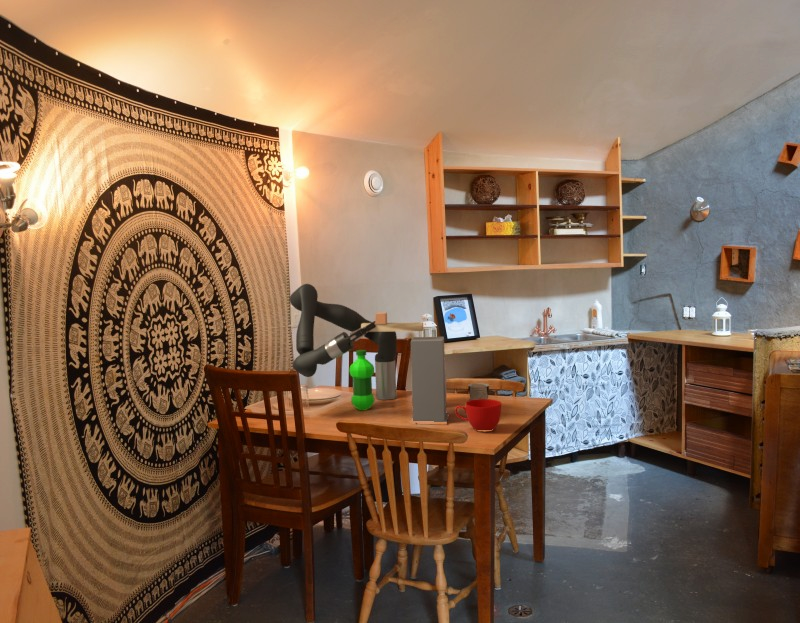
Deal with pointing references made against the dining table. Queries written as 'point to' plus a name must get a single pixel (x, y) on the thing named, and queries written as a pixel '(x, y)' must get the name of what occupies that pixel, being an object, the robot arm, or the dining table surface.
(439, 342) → the stand
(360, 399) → the plastic bottle
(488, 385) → the coffee mug
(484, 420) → the ceramic cup
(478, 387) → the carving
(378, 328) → the tan wooden bar
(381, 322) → the orange cube
